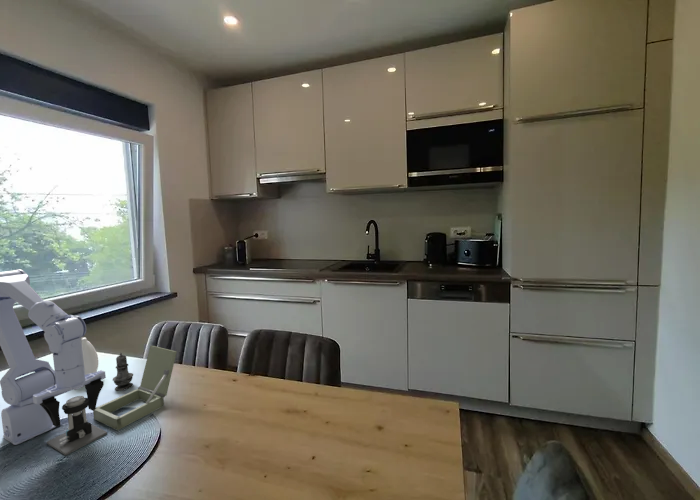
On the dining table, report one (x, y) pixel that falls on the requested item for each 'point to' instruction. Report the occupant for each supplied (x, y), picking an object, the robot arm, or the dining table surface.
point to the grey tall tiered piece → (122, 374)
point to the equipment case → (142, 391)
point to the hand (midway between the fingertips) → (75, 416)
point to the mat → (72, 446)
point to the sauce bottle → (89, 357)
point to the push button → (76, 418)
